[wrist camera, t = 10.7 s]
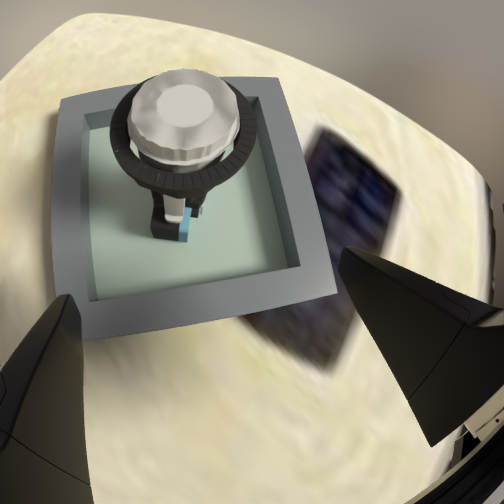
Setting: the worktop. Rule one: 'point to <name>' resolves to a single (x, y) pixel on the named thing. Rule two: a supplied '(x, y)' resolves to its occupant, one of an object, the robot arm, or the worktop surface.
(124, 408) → the worktop surface
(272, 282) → the dock
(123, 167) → the push button
